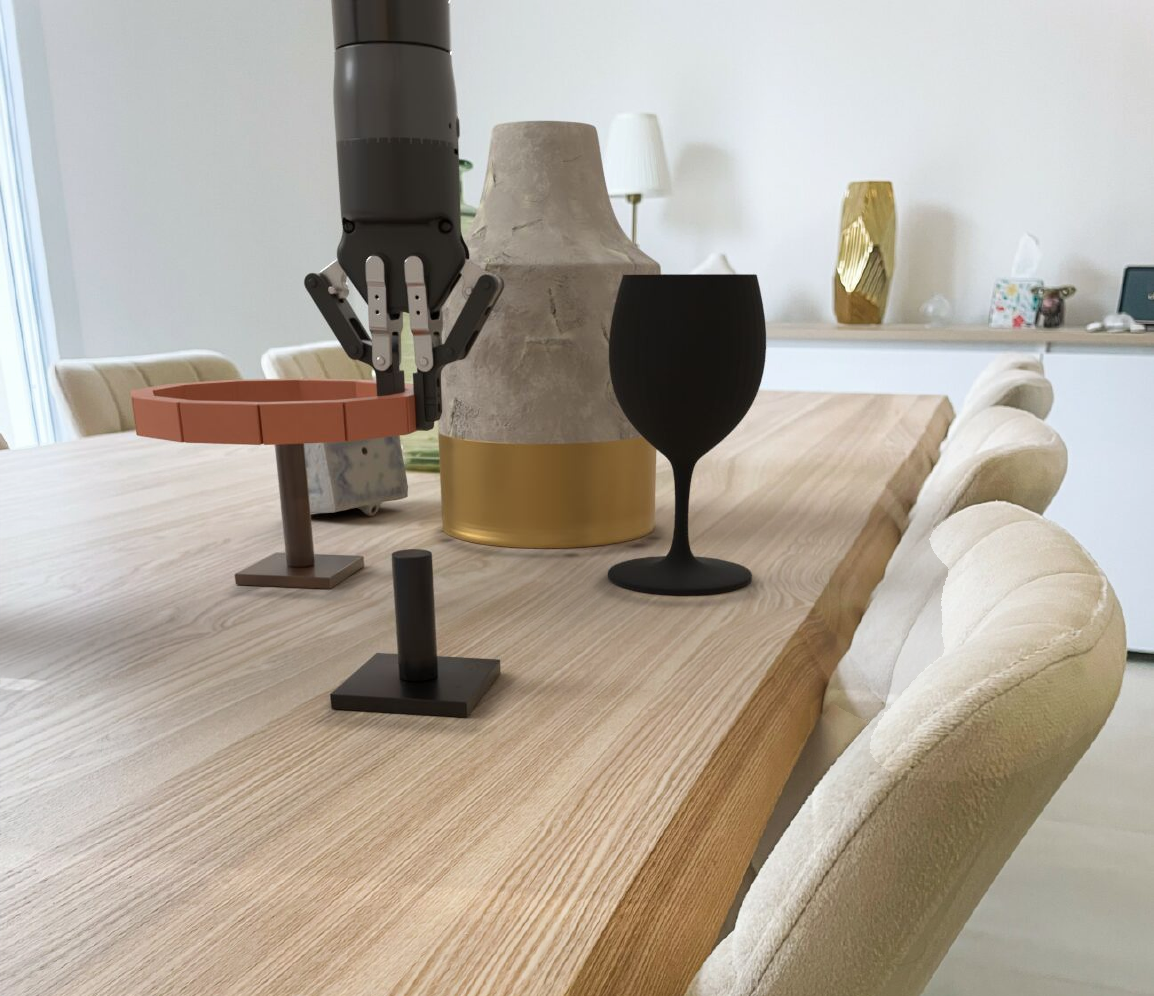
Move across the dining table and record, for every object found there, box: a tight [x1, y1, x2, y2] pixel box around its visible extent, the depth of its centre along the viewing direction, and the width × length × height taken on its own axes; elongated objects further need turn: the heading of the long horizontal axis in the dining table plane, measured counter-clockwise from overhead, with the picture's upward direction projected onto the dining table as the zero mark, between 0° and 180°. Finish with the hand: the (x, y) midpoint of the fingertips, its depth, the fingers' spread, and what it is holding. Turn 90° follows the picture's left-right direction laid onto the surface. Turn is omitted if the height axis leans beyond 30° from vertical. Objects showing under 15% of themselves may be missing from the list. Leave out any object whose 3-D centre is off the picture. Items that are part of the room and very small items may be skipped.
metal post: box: [329, 548, 501, 718], centre depth 59 cm, size 7×7×7 cm
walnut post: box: [234, 444, 365, 590], centre depth 81 cm, size 7×7×10 cm
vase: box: [437, 120, 662, 549], centre depth 94 cm, size 18×18×30 cm
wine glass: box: [607, 273, 767, 596], centre depth 79 cm, size 10×10×20 cm
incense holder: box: [304, 435, 409, 517], centre depth 104 cm, size 10×8×10 cm
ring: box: [130, 377, 418, 446], centre depth 79 cm, size 19×19×2 cm
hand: (411, 428), depth 78 cm, fingers closed on ring, 1 cm apart
